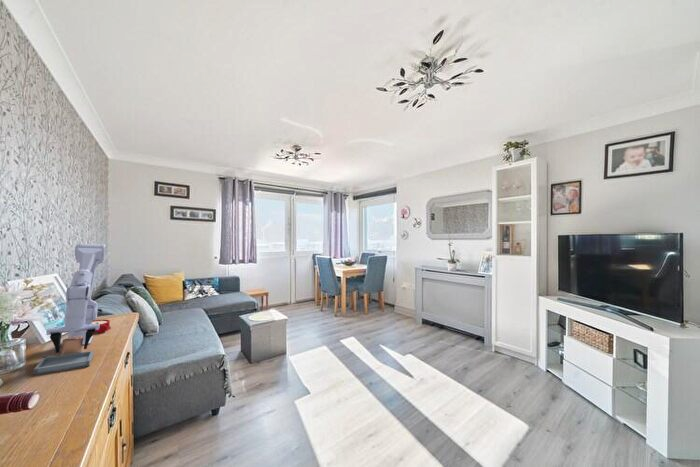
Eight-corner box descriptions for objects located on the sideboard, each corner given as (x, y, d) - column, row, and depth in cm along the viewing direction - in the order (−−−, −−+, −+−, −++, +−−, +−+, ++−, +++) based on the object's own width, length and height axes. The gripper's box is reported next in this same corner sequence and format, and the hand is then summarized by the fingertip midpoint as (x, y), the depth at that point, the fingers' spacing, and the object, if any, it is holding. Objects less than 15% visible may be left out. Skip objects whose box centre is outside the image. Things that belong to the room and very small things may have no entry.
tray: (42, 362, 98) (43, 357, 98) (93, 355, 106) (93, 350, 106) (33, 375, 89) (33, 369, 89) (89, 366, 98) (89, 360, 98)
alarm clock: (113, 318, 141) (107, 319, 129) (111, 331, 140) (105, 333, 128) (87, 320, 136) (78, 321, 124) (84, 333, 134) (75, 336, 122)
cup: (62, 354, 106) (64, 337, 106) (82, 351, 109) (84, 335, 109) (59, 359, 101) (61, 341, 102) (80, 356, 105) (81, 339, 105)
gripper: (46, 320, 98) (41, 357, 98) (99, 316, 107) (95, 350, 107) (51, 315, 104) (47, 350, 103) (101, 312, 113) (97, 344, 112)
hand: (71, 350), depth 105 cm, fingers open, 7 cm apart
